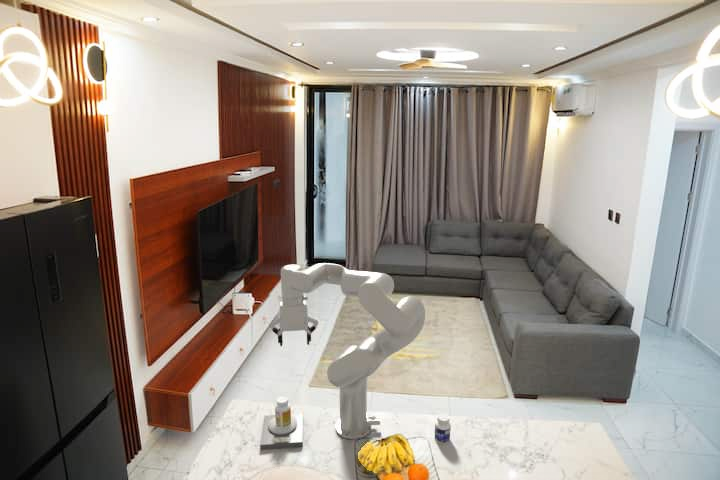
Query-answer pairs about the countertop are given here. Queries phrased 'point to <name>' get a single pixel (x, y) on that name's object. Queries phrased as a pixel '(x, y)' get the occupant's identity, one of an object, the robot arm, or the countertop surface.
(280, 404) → the supplement bottle
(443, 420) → the pill bottle
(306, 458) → the countertop surface
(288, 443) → the scale
